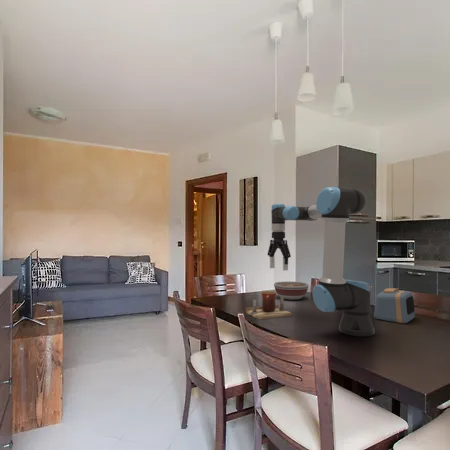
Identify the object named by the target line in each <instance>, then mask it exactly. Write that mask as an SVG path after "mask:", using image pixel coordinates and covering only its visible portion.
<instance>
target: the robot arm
mask: <svg viewBox="0 0 450 450" xmlns="http://www.w3.org/2000/svg"><path fill="white" fill-rule="evenodd" d="M315 201H316V202H315V203H316V204H313V205H309V206H295V205H287V206H286V205H285V204H284V203H273V204H272V205H271V211H270V213H271V231H272V232H271V239H270V240H269V246H268V251H267V256H268V257H269V269H275V268H276V266H275V265H276V264H275V263H276V261H275V260H276V259H275V257H276V256H275V255H276V253H277V250H278V249H279V250H280V252H281V254H282V256H283V257H282V271H288V270H289V258H291V257H292V256H291V252H290V249H289V245H288V240H287V239H285V238H286V221H309V222H310V221H311V222H312V221H313V222H314V221H317V220H318V219H322V220H323V222H324V232H323V233H324V236H323V253H322V254H323V257H322V258H323V259H322V276H320V277H319V278H318V284H316V285H315V286H313V289H312V291H311V292H312V293H311V295H312V300H313V302H314V304H315V306H316V308H317V309H318V310H320V311H321V312H324V313H326V312H327V313H333V312H340V311H341V312H342V315H341V319H340V322H339V324H338V330H339V332H340V333H342V334H345V335H347V336H353V337H371V336H374V335H375V333H376V331H375V326H374V323H373V319H372V317H371V289H370V288H371V286H370V284H369V282H365V281H361V280H360V281H359V280H352V279H345V278H344V260H345V243H346V241H345V239H346V223H347V222H348V221H349V220H350V215H357V214H360V213H361V212H363V211H364V210H365V208H366V206H367V202H368V201H367V196H366V195H365V193H364V192H363V191H362V190H361V189H358V188H355V187H354V188H353V187H351V188H350V187H341V186H328V187H325V188H323V189H322V190H321V191H320V192H319V194H318V195H317V197H316V200H315Z"/></svg>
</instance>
